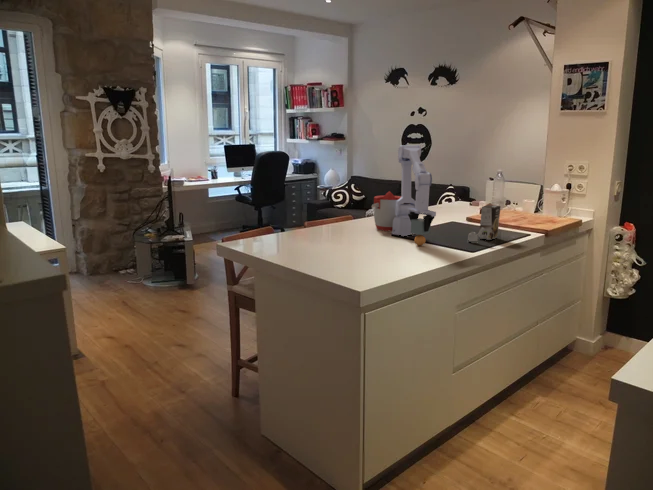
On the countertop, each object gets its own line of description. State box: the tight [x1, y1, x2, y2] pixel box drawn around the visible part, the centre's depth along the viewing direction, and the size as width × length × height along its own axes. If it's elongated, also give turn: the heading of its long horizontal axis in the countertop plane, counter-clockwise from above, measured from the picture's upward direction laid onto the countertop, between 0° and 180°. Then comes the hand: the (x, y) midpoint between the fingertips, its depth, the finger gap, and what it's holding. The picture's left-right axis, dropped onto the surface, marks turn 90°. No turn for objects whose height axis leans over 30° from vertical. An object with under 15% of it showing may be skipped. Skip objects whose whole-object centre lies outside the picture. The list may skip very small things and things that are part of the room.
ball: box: [414, 234, 427, 247], centre depth 232 cm, size 5×5×5 cm
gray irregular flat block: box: [467, 227, 485, 241], centre depth 238 cm, size 7×2×8 cm, turn 51°
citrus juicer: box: [371, 190, 405, 232], centre depth 266 cm, size 16×17×20 cm
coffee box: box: [478, 204, 501, 239], centre depth 248 cm, size 9×6×16 cm
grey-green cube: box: [411, 217, 432, 236], centre depth 231 cm, size 6×6×6 cm
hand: (420, 230), depth 231 cm, fingers closed on grey-green cube, 6 cm apart
